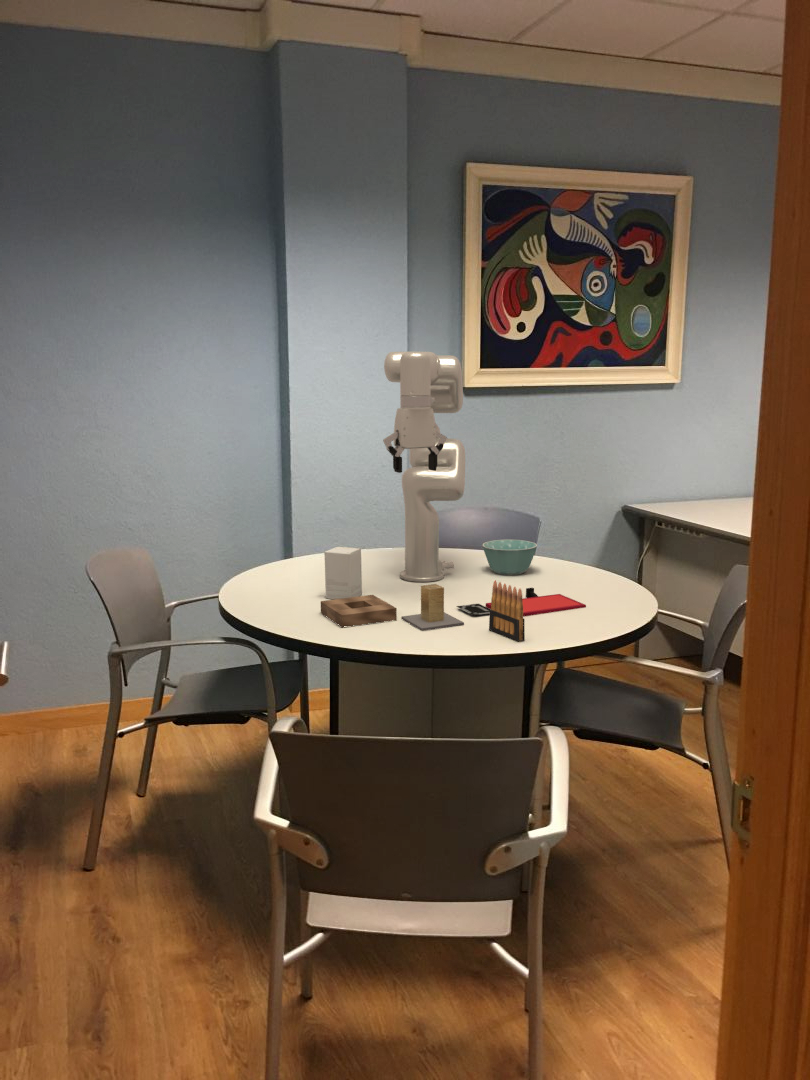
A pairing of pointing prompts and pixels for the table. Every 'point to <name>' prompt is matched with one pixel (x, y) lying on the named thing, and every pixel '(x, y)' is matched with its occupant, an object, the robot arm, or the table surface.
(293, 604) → the table surface
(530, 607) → the red board with handle
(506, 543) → the bowl
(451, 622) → the rubber mat
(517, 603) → the ammunition clip
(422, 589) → the wooden block
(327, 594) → the supplement box
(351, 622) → the socket block
